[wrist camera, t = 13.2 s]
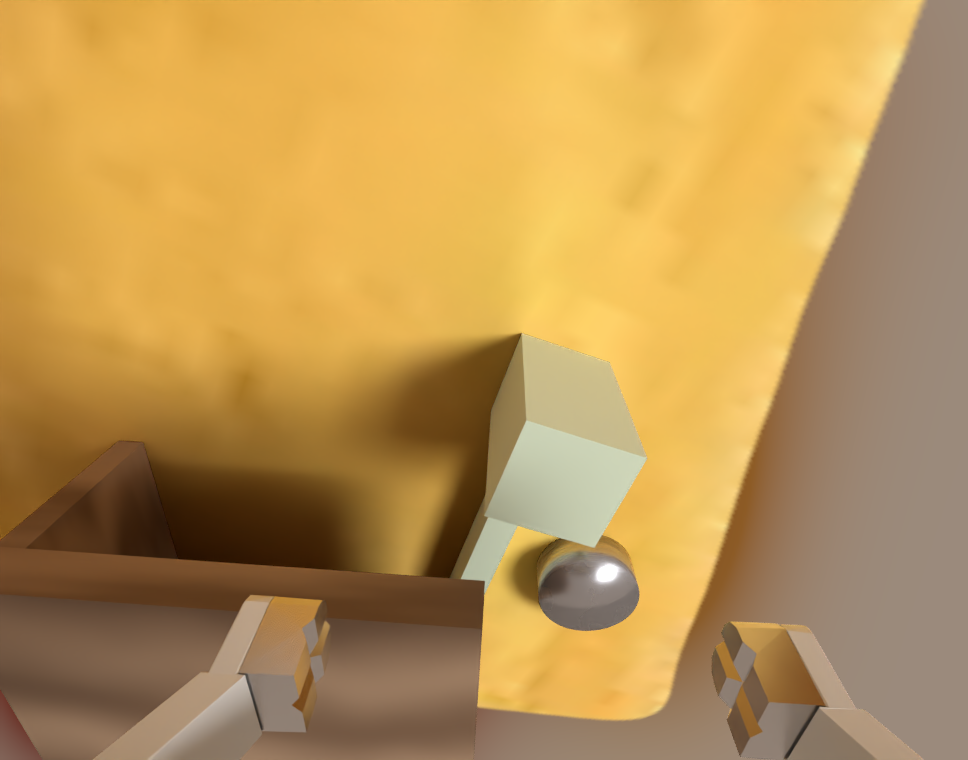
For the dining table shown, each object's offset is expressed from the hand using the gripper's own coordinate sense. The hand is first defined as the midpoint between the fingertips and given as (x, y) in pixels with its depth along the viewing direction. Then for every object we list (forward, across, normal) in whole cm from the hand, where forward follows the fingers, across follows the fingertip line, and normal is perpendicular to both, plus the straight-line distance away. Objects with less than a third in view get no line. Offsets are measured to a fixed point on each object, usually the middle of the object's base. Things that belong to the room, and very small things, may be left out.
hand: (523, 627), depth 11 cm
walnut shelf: (+13, +10, +12) cm, 20 cm away
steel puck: (+13, -5, +13) cm, 19 cm away
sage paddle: (+13, 0, +8) cm, 15 cm away
